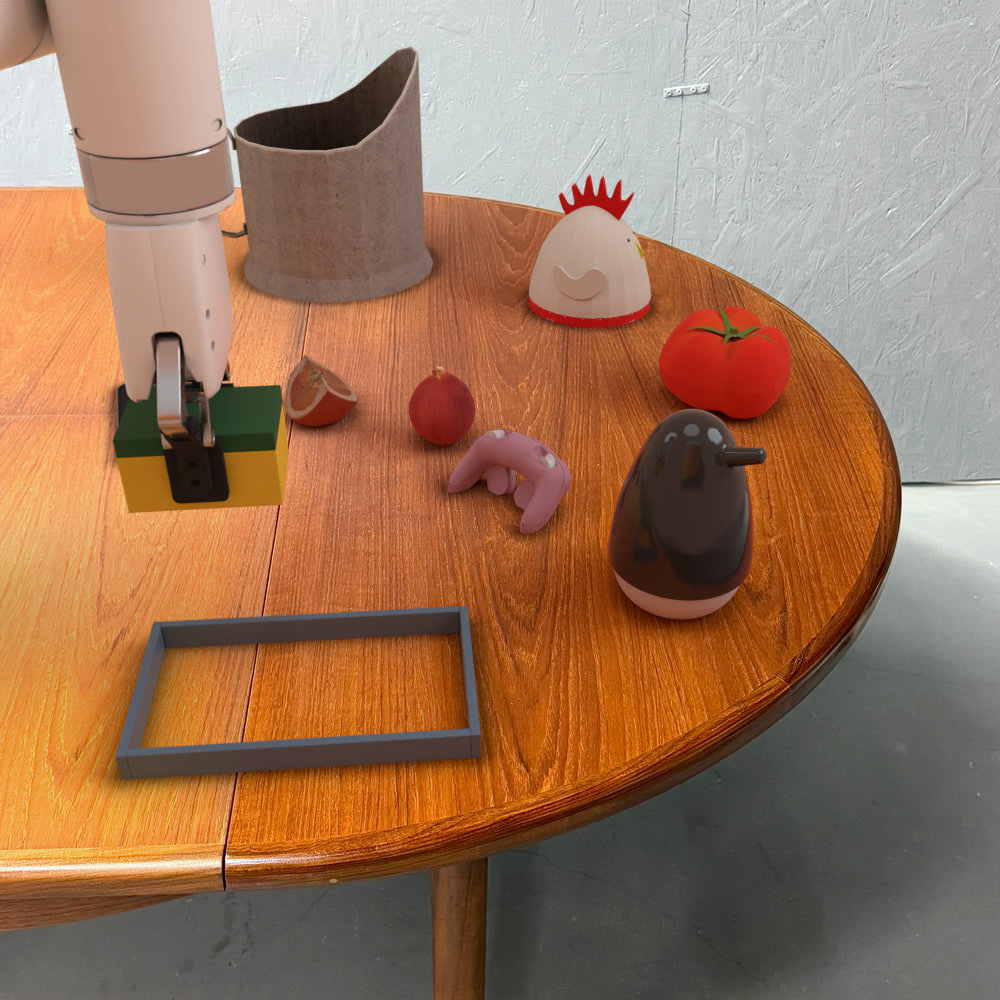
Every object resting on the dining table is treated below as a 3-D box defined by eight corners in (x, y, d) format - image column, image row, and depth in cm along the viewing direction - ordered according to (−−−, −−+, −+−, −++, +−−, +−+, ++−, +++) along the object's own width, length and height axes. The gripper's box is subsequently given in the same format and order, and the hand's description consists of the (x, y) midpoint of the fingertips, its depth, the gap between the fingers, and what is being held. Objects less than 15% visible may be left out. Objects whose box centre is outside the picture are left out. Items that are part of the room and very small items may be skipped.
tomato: (637, 380, 108) (644, 300, 103) (754, 369, 110) (765, 290, 105) (681, 442, 98) (690, 357, 93) (808, 429, 100) (824, 345, 95)
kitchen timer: (634, 339, 116) (645, 202, 108) (513, 322, 119) (514, 188, 111) (660, 292, 127) (671, 164, 119) (548, 278, 130) (551, 153, 122)
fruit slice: (278, 405, 103) (272, 357, 100) (346, 393, 105) (342, 346, 102) (298, 446, 97) (292, 397, 94) (370, 432, 99) (366, 384, 96)
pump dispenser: (698, 663, 73) (726, 472, 64) (576, 599, 78) (586, 417, 70) (772, 592, 79) (806, 411, 71) (654, 538, 85) (672, 364, 76)
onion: (433, 424, 100) (431, 346, 96) (487, 440, 98) (487, 360, 93) (398, 452, 96) (394, 371, 91) (453, 469, 93) (451, 387, 89)
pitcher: (452, 296, 126) (448, 70, 112) (173, 324, 118) (131, 87, 105) (413, 230, 144) (405, 30, 130) (169, 252, 137) (133, 42, 123)
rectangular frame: (123, 786, 63) (115, 757, 62) (159, 649, 74) (153, 621, 72) (481, 764, 65) (480, 734, 64) (468, 633, 75) (467, 605, 74)
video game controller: (559, 540, 87) (588, 460, 86) (524, 540, 84) (554, 457, 82) (474, 493, 93) (500, 418, 91) (438, 491, 89) (465, 412, 88)
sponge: (128, 513, 63) (112, 440, 61) (146, 460, 68) (131, 391, 66) (282, 505, 64) (273, 432, 61) (289, 453, 69) (280, 384, 66)
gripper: (117, 133, 63) (168, 405, 73) (42, 234, 48) (119, 556, 58) (247, 130, 63) (280, 400, 73) (212, 228, 49) (259, 548, 59)
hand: (209, 467), depth 66 cm, fingers closed on sponge, 6 cm apart
